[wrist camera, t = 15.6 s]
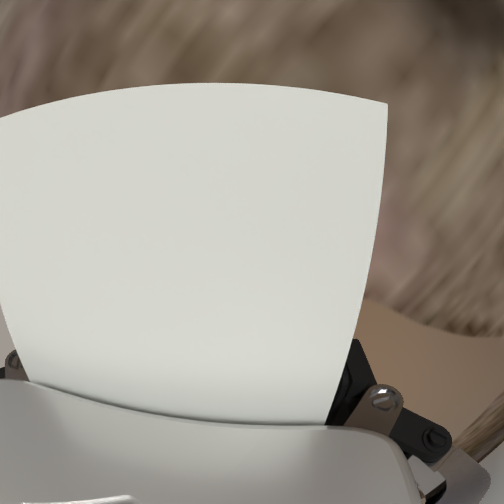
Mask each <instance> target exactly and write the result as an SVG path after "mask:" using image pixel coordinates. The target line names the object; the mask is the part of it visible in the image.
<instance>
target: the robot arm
mask: <svg viewBox="0 0 504 504" xmlns="http://www.w3.org/2000/svg"><path fill="white" fill-rule="evenodd" d="M403 403H404V401H403V397H402V395H401V393H400V392H399V391H398V390H397V389H395V388H394V387H391V386H389V385H384V384H379V385H377V383H376V380H375V378H374V375H373V373H372V370H371V368H370V365H369V363H368V360H367V358H366V356H365V353H364V351H363V348H362V346H361V344H360V342H359V340H358V339H353V338H352V342H351V345H350V349H349V352H348V356H347V359H346V362H345V366H344V369H343V372H342V375H341V378H340V381H339V385H338V388H337V391H336V393H335V396H334V399H333V402H332V405H331V408H330V410H329V413H328V416H327V419H326V421H325V424H324V426H273V425H243V424H227V423H215V422H205V421H196V420H188V419H180V418H173V417H167V416H161V415H155V414H149V413H144V412H139V411H134V410H129V409H124V408H120V407H116V406H111V405H107V404H103V403H99V402H95V401H92V400H88V399H84V398H81V397H78V396H74V395H71V394H67V393H64V392H61V391H58V390H55V389H51V388H48V387H45V386H42V385H39V384H35V383H32V382H30V380H29V378H28V376H27V374H26V372H25V369H24V367H23V365H22V363H21V360H20V358H19V355H18V353H17V351H16V350H14V351H12V352H11V353H10V354H9V355H8V356H7V358H6V359H5V367H3V368H0V504H422V501H421V498H420V494H419V491H418V488H419V489H420V490H421V491H422V492H423V494H424V495H425V499H426V502H425V504H479V502H480V501H481V499H482V498H483V497H484V495H485V494H486V492H487V491H488V489H489V487H490V484H491V478H490V474H489V473H488V472H487V470H485V469H484V468H483V467H482V466H481V465H480V464H478V463H477V462H476V461H475V460H474V459H472V458H471V457H470V456H469V455H468V454H467V453H465V452H464V451H463V450H462V449H461V448H460V447H457V448H454V447H453V446H452V437H451V435H450V433H449V432H448V431H447V430H446V429H445V428H444V427H442V426H440V425H438V424H436V423H434V422H432V421H430V420H427V419H426V418H423V417H421V416H419V415H417V414H415V413H413V412H411V411H409V410H407V409H406V408H403ZM416 482H417V483H418V484H419V486H418V488H417V484H416Z"/></svg>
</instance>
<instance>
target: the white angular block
mask: <svg viewBox="0 0 504 504" xmlns="http://www.w3.org/2000/svg"><path fill="white" fill-rule="evenodd" d="M387 111H388V104H385V103H381V102H377V101H373V100H368V99H364V98H359V97H354V96H348V95H343V94H337V93H331V92H325V91H318V90H311V89H303V88H295V87H285V86H274V85H260V84H240V83H189V84H169V85H155V86H144V87H135V88H127V89H119V90H112V91H106V92H99V93H94V94H88V95H83V96H78V97H73V98H69V99H64V100H60V101H56V102H52V103H48V104H44V105H40V106H37V107H33V108H30V109H26V110H23V111H20V112H17V113H14V114H11V115H8V116H5V117H2V118H0V304H1V308H2V311H3V314H4V317H5V320H6V323H7V326H8V329H9V332H10V335H11V337H12V340H13V343H14V345H15V348H16V351H17V353H18V355H19V358H20V360H21V363H22V365H23V367H24V369H25V372H26V374H27V376H28V378H29V380H30V382H32V383H35V384H39V385H42V386H45V387H48V388H51V389H55V390H58V391H61V392H64V393H67V394H71V395H74V396H78V397H81V398H84V399H88V400H92V401H95V402H99V403H103V404H107V405H111V406H116V407H120V408H124V409H129V410H134V411H139V412H144V413H149V414H155V415H161V416H167V417H173V418H180V419H188V420H196V421H205V422H215V423H227V424H243V425H273V426H324V424H325V421H326V419H327V416H328V413H329V410H330V408H331V405H332V402H333V399H334V396H335V393H336V391H337V388H338V385H339V381H340V378H341V375H342V372H343V369H344V366H345V362H346V359H347V356H348V352H349V349H350V345H351V342H352V338H353V335H354V330H355V327H356V323H357V319H358V315H359V311H360V307H361V303H362V299H363V294H364V290H365V285H366V281H367V276H368V271H369V266H370V261H371V256H372V250H373V245H374V239H375V233H376V227H377V220H378V213H379V206H380V199H381V190H382V182H383V172H384V161H385V149H386V134H387Z"/></svg>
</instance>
